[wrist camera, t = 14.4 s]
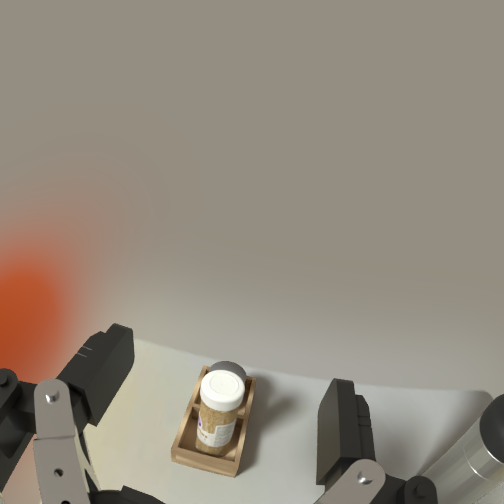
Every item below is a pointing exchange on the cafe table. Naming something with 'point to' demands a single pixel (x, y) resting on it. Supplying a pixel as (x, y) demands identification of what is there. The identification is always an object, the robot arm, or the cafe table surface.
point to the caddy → (187, 434)
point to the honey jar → (229, 368)
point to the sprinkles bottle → (218, 411)
